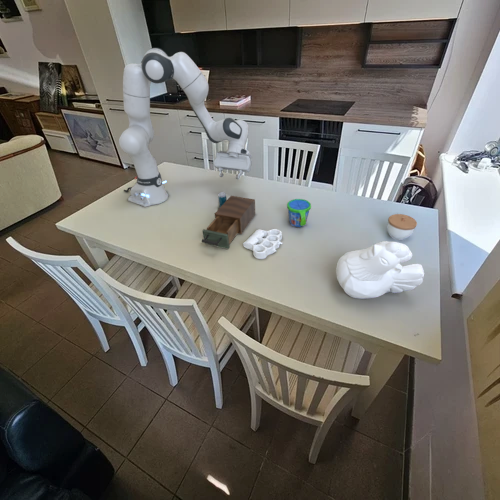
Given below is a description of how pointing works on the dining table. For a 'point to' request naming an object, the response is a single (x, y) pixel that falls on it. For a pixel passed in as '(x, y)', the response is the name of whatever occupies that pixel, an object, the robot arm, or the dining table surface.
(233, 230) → the drawer
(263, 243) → the white brass knuckles
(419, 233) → the dining table surface
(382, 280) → the decorative rooster
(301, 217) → the snack cup
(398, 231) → the trinket box
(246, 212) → the cabinet
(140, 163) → the robot arm
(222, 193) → the salt shaker
